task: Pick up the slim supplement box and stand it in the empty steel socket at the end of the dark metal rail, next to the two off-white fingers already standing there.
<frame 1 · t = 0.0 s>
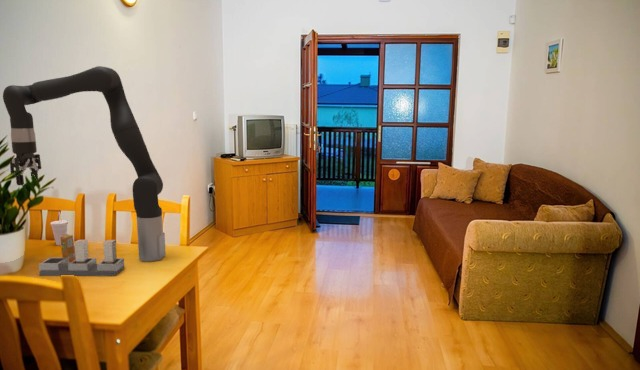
hand: (27, 183, 164), 29 cm above the table, tool pointing down, fingers open, 8 cm apart
supplement box: (68, 261, 166), on the table
rail: (83, 271, 155), on the table
smoothie: (61, 244, 185), on the table
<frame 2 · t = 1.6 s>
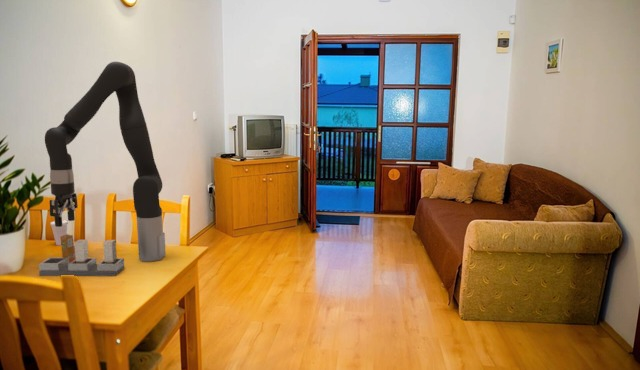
hand: (65, 223, 163), 15 cm above the table, tool pointing down, fingers open, 8 cm apart
nothing on the table moved.
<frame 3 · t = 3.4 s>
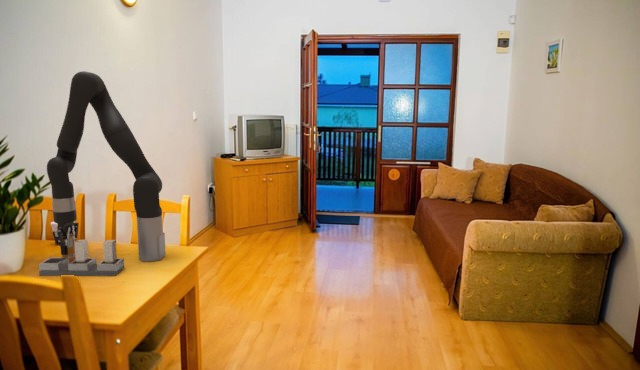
hand: (68, 252, 165), 3 cm above the table, tool pointing down, fingers closed on supplement box, 4 cm apart
supplement box: (68, 261, 166), on the table, touching gripper
everything else where it was.
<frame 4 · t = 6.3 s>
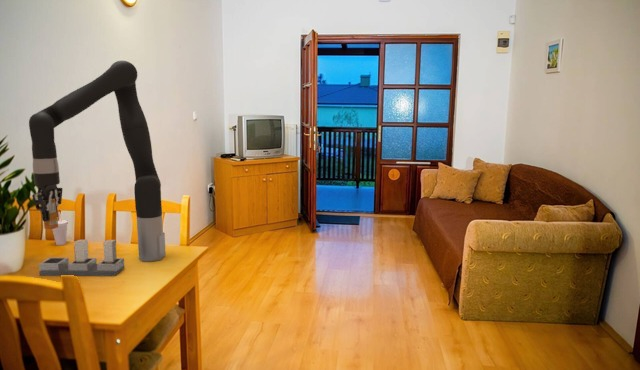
hand: (50, 218, 152), 19 cm above the table, tool pointing down, fingers closed on supplement box, 4 cm apart
supplement box: (51, 228, 153), point 16 cm above the table, touching gripper
everything else where it was.
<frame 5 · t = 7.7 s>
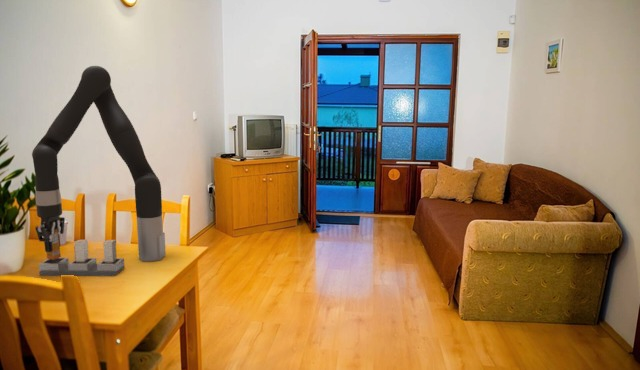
hand: (53, 249, 154), 8 cm above the table, tool pointing down, fingers closed on supplement box, 4 cm apart
supplement box: (53, 258, 154), point 5 cm above the table, touching gripper
everything else where it was.
when the fingers open (6 cm above the table, at t = 8.9 s): supplement box stays where it is, resting on rail.
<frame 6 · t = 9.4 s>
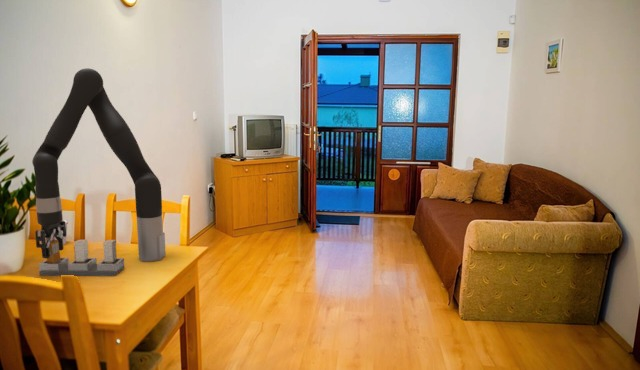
hand: (53, 253, 154), 7 cm above the table, tool pointing down, fingers open, 8 cm apart
supplement box: (54, 268, 154), point 1 cm above the table, touching rail
everything else where it was.
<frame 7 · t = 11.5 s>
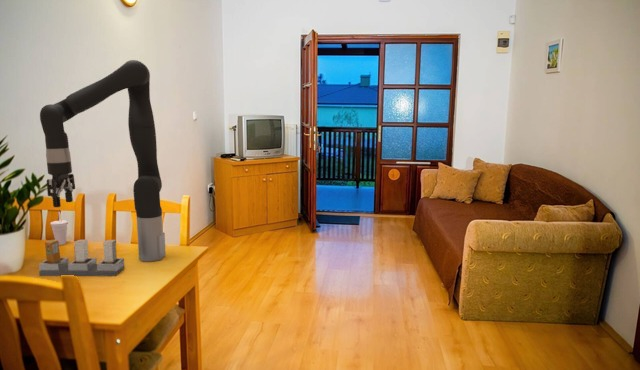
hand: (63, 204, 159), 23 cm above the table, tool pointing down, fingers open, 8 cm apart
nothing on the table moved.
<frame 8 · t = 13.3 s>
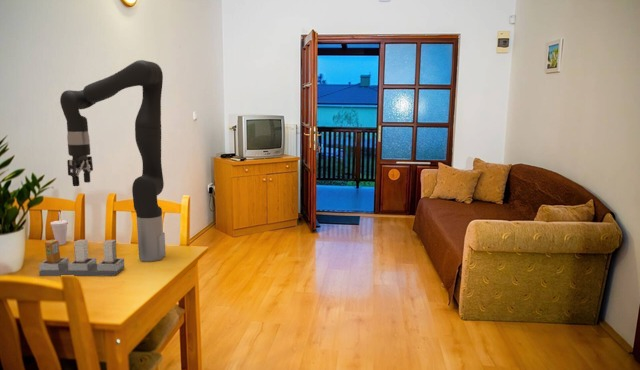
hand: (81, 184, 171), 28 cm above the table, tool pointing down, fingers open, 8 cm apart
nothing on the table moved.
at the end: supplement box 0.3 cm from the target spot on the rail, point 1.3 cm above the rail's base; supplement box tilted 0°; the gripper is holding nothing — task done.
